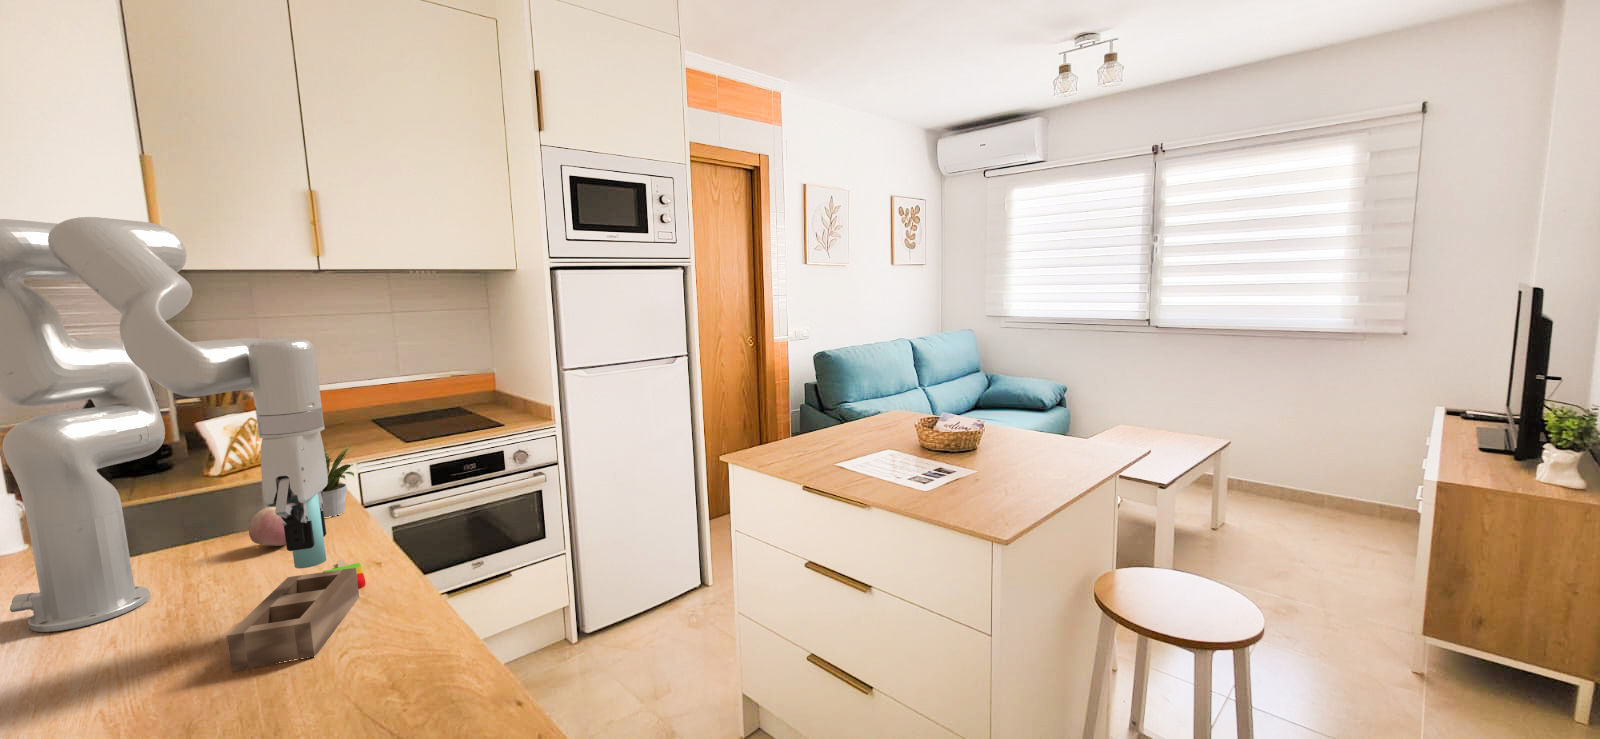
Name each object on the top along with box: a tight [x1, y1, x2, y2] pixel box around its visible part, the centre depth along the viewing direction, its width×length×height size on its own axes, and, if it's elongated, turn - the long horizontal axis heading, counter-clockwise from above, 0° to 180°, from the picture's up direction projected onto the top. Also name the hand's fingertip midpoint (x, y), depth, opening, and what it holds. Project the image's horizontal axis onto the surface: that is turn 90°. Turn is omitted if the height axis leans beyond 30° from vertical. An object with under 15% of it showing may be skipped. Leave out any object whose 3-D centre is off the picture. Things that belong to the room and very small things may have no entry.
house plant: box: [321, 443, 356, 517], centre depth 139 cm, size 14×14×16 cm
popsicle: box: [322, 559, 366, 590], centre depth 109 cm, size 6×15×2 cm, turn 39°
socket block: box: [226, 568, 360, 673], centre depth 91 cm, size 9×18×5 cm, turn 19°
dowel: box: [291, 493, 327, 569], centre depth 94 cm, size 4×4×11 cm
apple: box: [248, 506, 286, 547], centre depth 123 cm, size 8×8×8 cm
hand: (307, 542), depth 94 cm, fingers closed on dowel, 3 cm apart
